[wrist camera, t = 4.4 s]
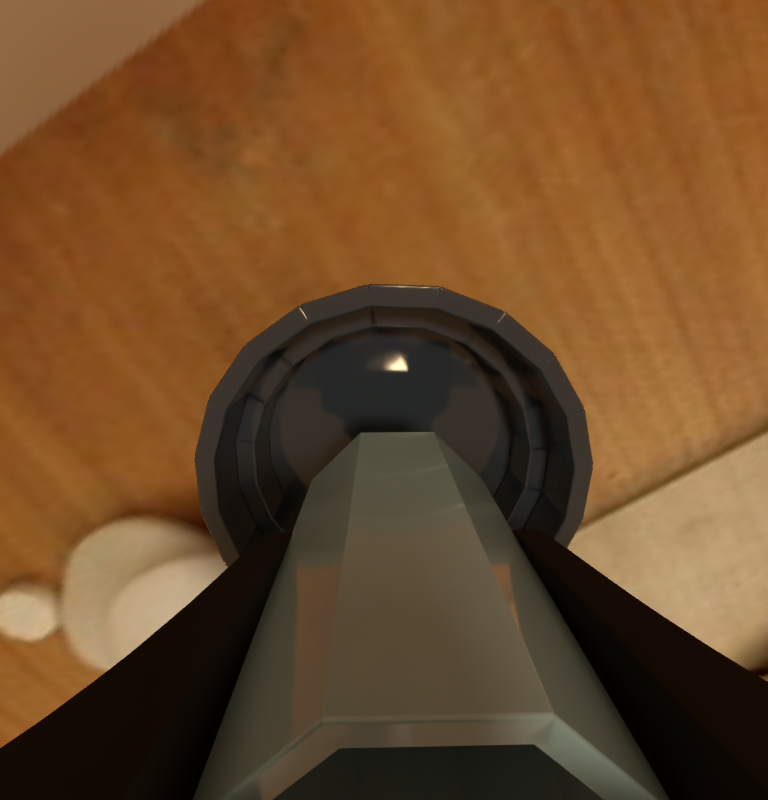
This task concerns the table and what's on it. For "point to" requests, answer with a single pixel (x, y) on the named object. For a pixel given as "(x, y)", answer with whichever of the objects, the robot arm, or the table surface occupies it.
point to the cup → (415, 654)
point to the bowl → (391, 409)
